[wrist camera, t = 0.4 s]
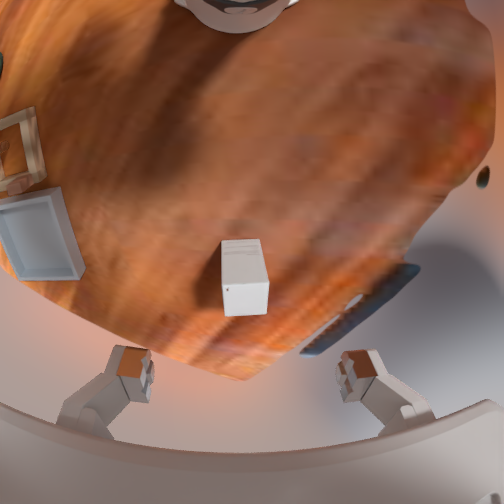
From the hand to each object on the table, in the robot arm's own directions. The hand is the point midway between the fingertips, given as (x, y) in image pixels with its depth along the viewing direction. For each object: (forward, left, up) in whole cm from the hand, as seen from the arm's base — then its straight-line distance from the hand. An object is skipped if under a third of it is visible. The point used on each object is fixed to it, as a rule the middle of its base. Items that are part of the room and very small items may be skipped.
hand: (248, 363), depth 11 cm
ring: (-5, -42, -39) cm, 57 cm away
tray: (+14, -42, -39) cm, 59 cm away
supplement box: (+22, +1, -39) cm, 45 cm away
